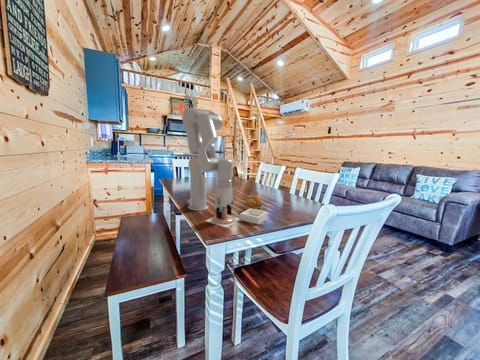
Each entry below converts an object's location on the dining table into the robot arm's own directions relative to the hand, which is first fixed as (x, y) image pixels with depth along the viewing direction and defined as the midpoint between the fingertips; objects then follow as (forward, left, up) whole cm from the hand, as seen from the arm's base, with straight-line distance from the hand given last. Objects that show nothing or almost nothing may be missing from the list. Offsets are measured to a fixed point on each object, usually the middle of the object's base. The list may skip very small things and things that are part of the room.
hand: (224, 216), depth 110 cm
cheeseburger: (+5, +24, -3) cm, 25 cm away
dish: (+12, +11, -2) cm, 16 cm away
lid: (0, 0, -2) cm, 2 cm away
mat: (0, 0, -2) cm, 2 cm away
